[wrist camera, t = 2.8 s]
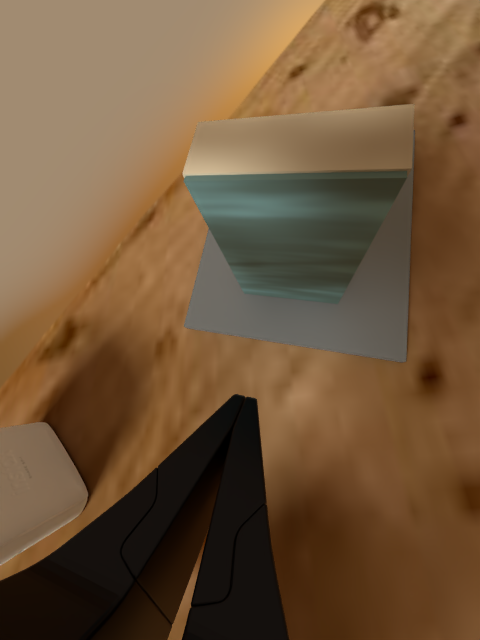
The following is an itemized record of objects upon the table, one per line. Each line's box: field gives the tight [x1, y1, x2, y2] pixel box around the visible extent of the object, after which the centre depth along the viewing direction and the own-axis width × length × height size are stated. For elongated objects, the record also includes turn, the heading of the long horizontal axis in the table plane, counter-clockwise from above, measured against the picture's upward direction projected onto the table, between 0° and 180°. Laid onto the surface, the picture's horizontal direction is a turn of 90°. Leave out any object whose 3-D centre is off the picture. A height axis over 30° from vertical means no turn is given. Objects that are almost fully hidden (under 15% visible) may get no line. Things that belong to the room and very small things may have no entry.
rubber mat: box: [184, 130, 415, 362], centre depth 25 cm, size 24×20×1 cm
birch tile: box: [183, 104, 415, 304], centre depth 16 cm, size 3×9×14 cm, turn 79°
